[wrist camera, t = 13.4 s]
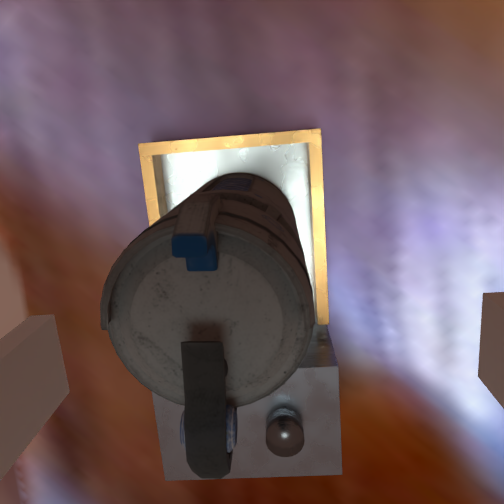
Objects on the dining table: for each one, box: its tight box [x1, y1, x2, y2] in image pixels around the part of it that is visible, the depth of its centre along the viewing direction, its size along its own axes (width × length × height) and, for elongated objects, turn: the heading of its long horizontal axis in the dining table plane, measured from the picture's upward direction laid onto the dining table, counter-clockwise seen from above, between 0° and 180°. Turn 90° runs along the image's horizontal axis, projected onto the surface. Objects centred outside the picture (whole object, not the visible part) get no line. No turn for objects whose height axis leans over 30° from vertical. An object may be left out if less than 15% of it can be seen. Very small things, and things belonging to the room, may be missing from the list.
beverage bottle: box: [100, 173, 315, 479], centre depth 30 cm, size 10×13×25 cm
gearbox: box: [138, 129, 342, 481], centre depth 39 cm, size 28×15×12 cm, turn 5°
